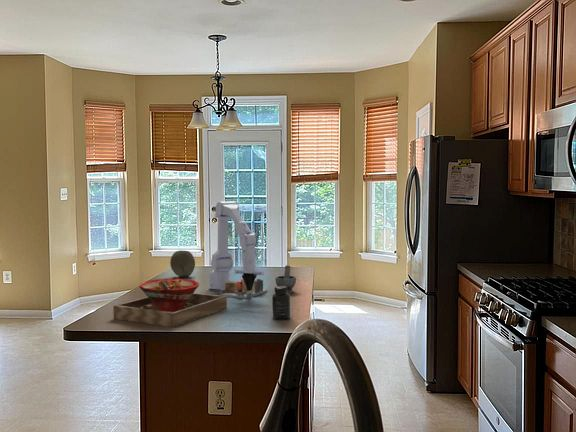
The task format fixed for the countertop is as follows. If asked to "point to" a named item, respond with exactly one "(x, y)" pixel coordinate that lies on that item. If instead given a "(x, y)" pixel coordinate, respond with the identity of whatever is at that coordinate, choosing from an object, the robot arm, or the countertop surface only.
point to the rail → (247, 296)
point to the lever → (239, 288)
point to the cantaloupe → (182, 263)
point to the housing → (245, 285)
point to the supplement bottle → (281, 303)
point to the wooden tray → (202, 307)
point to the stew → (168, 293)
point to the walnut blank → (230, 286)
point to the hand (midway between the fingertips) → (249, 290)
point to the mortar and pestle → (286, 279)
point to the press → (257, 288)
